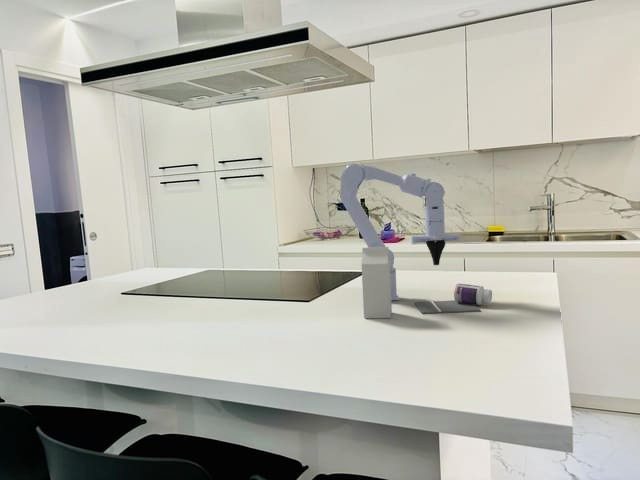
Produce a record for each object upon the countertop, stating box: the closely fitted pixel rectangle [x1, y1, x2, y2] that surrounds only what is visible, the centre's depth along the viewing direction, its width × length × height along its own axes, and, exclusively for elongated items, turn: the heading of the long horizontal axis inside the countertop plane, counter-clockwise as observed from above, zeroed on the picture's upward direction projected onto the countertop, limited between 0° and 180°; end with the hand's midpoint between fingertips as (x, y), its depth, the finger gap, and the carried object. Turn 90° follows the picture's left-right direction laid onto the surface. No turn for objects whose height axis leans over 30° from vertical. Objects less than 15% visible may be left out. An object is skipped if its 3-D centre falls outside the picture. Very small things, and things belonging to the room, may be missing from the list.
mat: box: [414, 299, 482, 315], centre depth 142 cm, size 16×13×1 cm
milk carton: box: [361, 246, 393, 319], centre depth 136 cm, size 7×7×19 cm
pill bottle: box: [453, 283, 493, 306], centre depth 143 cm, size 5×5×10 cm
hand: (436, 264), depth 154 cm, fingers closed
